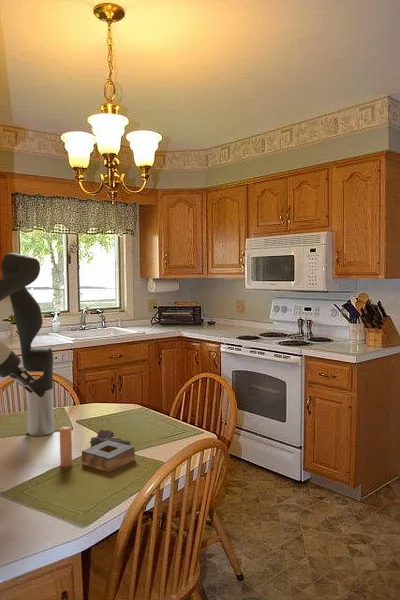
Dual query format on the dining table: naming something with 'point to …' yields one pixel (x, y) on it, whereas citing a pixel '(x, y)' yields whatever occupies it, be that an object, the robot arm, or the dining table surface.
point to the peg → (65, 447)
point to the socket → (108, 455)
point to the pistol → (107, 438)
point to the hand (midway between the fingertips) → (37, 392)
